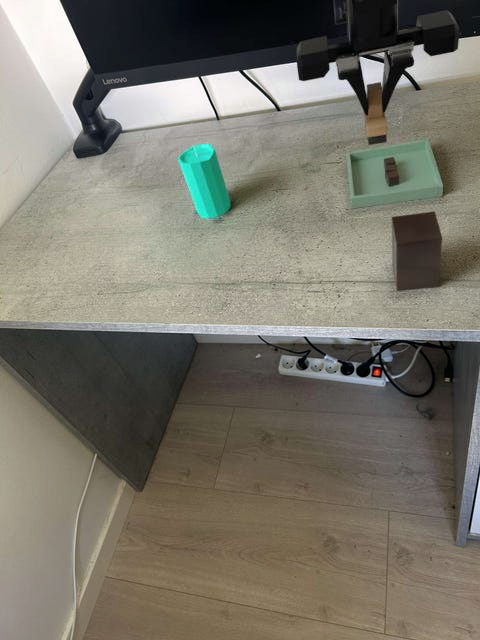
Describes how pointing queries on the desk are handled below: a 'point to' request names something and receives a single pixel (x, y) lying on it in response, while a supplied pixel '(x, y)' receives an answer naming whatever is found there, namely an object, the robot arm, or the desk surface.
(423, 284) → the dark brown block
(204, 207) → the candle
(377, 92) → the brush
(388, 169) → the crumb
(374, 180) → the tray
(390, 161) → the crumb
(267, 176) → the desk surface
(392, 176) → the crumb
